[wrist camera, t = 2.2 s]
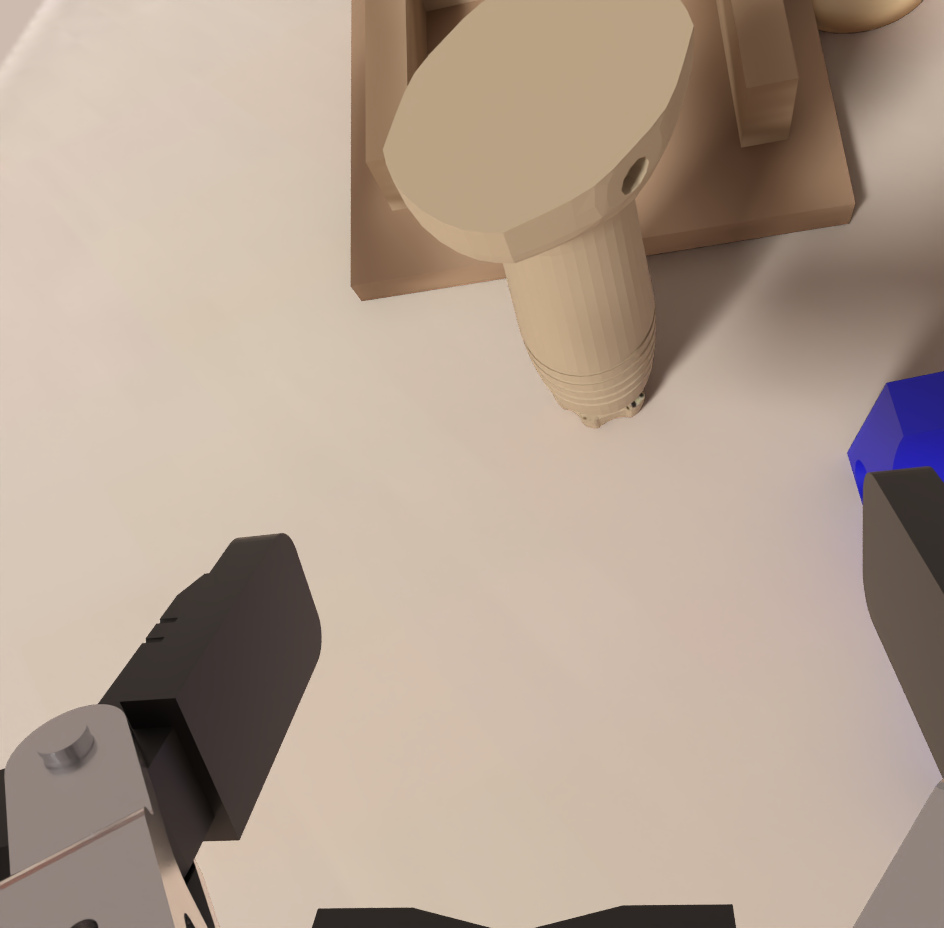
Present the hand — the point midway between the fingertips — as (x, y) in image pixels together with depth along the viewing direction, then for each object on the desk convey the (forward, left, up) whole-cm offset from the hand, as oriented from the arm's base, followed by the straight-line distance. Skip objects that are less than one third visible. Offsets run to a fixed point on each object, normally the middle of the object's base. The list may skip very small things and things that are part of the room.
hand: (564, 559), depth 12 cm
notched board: (0, -21, -16) cm, 27 cm away
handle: (0, -9, -17) cm, 19 cm away
